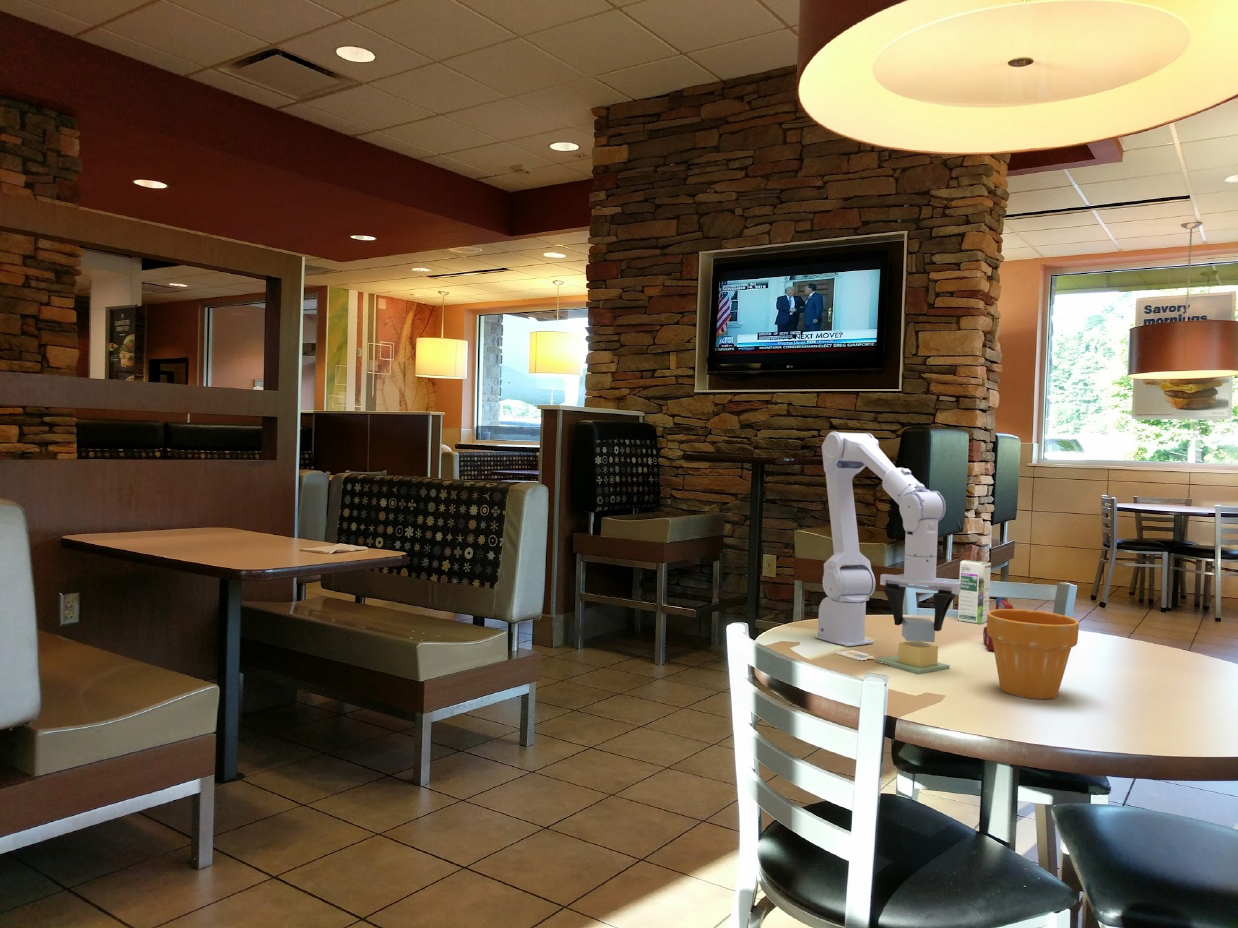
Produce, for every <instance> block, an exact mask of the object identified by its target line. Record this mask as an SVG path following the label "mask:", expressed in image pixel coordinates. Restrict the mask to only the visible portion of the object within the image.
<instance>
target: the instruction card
mask: <svg viewBox="0 0 1238 928" xmlns="http://www.w3.org/2000/svg"><path fill="white" fill-rule="evenodd" d="M834 654H836V655H838V656H843V657H846V658H849V659H853V660H856V661H859V660H861V661H860V662H863V661H862V660H866V661H868V660H867V659H866V658H869V657H873V656H874V655H872V656H867V655H870V654H868V653H865V652H861V651H857V650H854V649H849V650H844V651H843V650H842V651H835V652H834Z"/></svg>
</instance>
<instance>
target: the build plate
mask: <svg viewBox="0 0 1238 928" xmlns="http://www.w3.org/2000/svg"><path fill="white" fill-rule="evenodd" d="M875 660H876V661H878V662H883V663H886V664H888V665H892V666H894V667H893V668H895V667H897V668H896V669H899V668H902V669H903V670H904V671H906V670H908V671H907V672H909V671H912V672H911V673H913V672H914V674H916V673H918V674H917V675H920V674H919V673H921V674H926V673H930V672H929V671H933V672H938V671H942V670H943V669H944V670H948V669H947V668H950V667H951V666H950V664H946V663H942V662H939V661H937V665H931V666H925V667H917V666H913V665H910V664H906V663H902V662H899V661H898V655H891V656H884V657H880V658H876V659H874V661H875ZM888 665H887V666H888ZM892 666H891V667H892ZM902 669H901V670H902ZM950 669H951V668H950ZM937 670H938V671H937ZM944 670H943V671H944Z"/></svg>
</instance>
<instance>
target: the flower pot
mask: <svg viewBox="0 0 1238 928" xmlns="http://www.w3.org/2000/svg"><path fill="white" fill-rule="evenodd" d="M1079 625H1080V622H1079V620H1077V619H1076V618H1074V617H1071V616H1067V615H1063V614H1061V613H1060V614H1058V613H1054V612H1049V611H1041V610H1031V609H1020V608H1017V609H1016V608H1015V609H1014V608H1013V609H997V610H995V609H992V610H989V612H988V613H987V622H986V627H987V634H988V635H989V636H990V637H991V638H992V641H993V647H994V651H993V653H994V657H995V658H994V659H995V665H996V670H997V671H996V672H997V676H998V677H997V678H998V682H999V687H1000V689H1001V690H1002V691H1003V692H1004V693H1007V694H1009V695H1013V696H1017V697H1021V698H1027V699H1036V700H1045V699H1046V700H1047V699H1055V698H1057V696H1058V695H1059V692H1060V688H1061V685H1062V681H1063V678H1064V675H1065V671H1066V667H1067V664H1068V659H1069V656H1070V653H1071V650H1072V648H1074V647H1076V645H1077V644H1078V641H1079V640H1078V639H1079V627H1080V626H1079Z"/></svg>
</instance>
